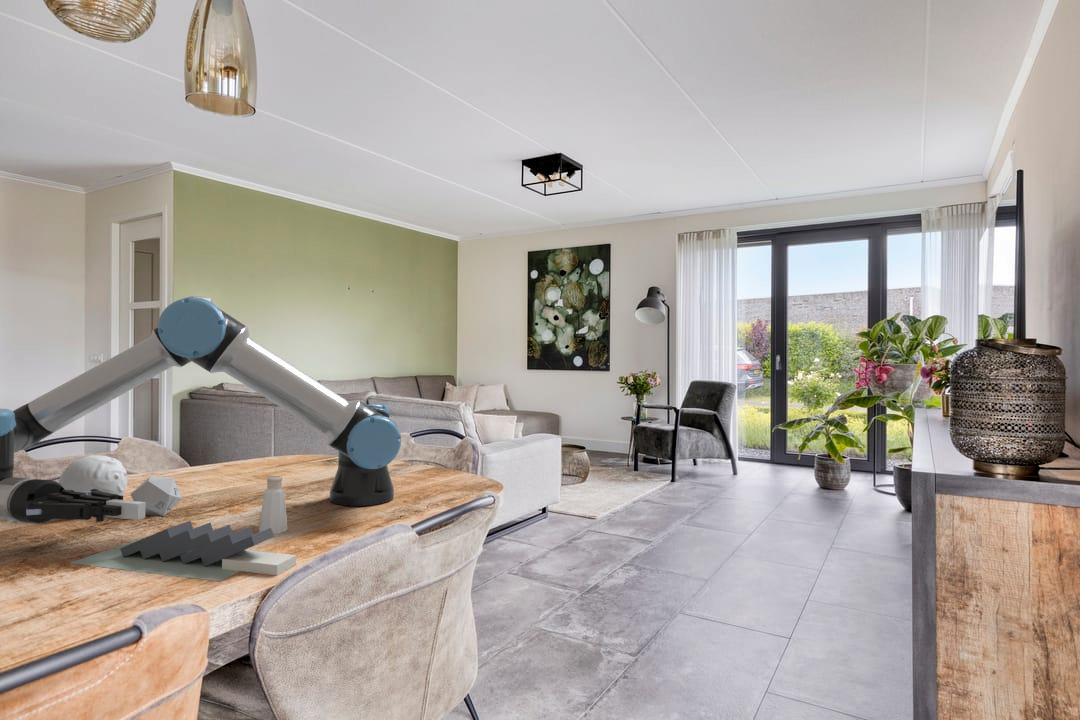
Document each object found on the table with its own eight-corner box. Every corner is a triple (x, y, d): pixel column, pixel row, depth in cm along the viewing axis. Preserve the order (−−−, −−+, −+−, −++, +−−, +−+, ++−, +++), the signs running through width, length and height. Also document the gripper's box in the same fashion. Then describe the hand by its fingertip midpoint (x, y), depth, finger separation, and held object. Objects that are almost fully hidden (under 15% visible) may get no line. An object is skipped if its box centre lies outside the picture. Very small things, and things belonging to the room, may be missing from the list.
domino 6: (222, 559, 98) (277, 565, 96) (243, 549, 103) (296, 555, 101) (221, 568, 98) (277, 575, 96) (243, 558, 103) (296, 564, 101)
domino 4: (180, 555, 100) (229, 534, 98) (202, 546, 104) (250, 526, 103) (183, 564, 99) (232, 543, 98) (205, 554, 104) (253, 535, 102)
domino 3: (159, 552, 100) (207, 532, 98) (182, 543, 105) (229, 524, 103) (162, 562, 100) (211, 542, 98) (185, 552, 105) (232, 533, 103)
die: (143, 525, 125) (177, 485, 127) (113, 501, 126) (147, 462, 129) (165, 528, 132) (197, 491, 135) (136, 506, 134) (168, 469, 137)
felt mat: (69, 566, 99) (69, 562, 99) (142, 541, 112) (142, 538, 112) (219, 585, 93) (219, 581, 93) (277, 556, 107) (277, 552, 107)
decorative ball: (104, 518, 126) (106, 461, 126) (43, 518, 125) (44, 460, 125) (138, 504, 138) (139, 451, 138) (82, 503, 137) (83, 450, 137)
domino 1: (120, 548, 102) (167, 528, 100) (145, 539, 107) (190, 520, 105) (123, 557, 102) (170, 537, 100) (148, 548, 107) (193, 529, 105)
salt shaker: (290, 528, 123) (292, 474, 123) (284, 536, 118) (285, 479, 117) (262, 529, 122) (263, 474, 122) (254, 537, 117) (256, 480, 117)
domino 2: (140, 550, 101) (187, 530, 99) (164, 541, 106) (210, 522, 104) (143, 559, 101) (191, 539, 99) (167, 550, 106) (213, 531, 104)
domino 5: (200, 557, 99) (251, 536, 97) (222, 547, 104) (270, 527, 102) (204, 566, 99) (254, 545, 97) (226, 556, 103) (274, 536, 102)
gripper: (63, 512, 115) (171, 522, 110) (-12, 531, 102) (107, 544, 97) (65, 472, 115) (172, 481, 110) (-10, 486, 102) (108, 497, 97)
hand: (141, 510), depth 104 cm, fingers closed
